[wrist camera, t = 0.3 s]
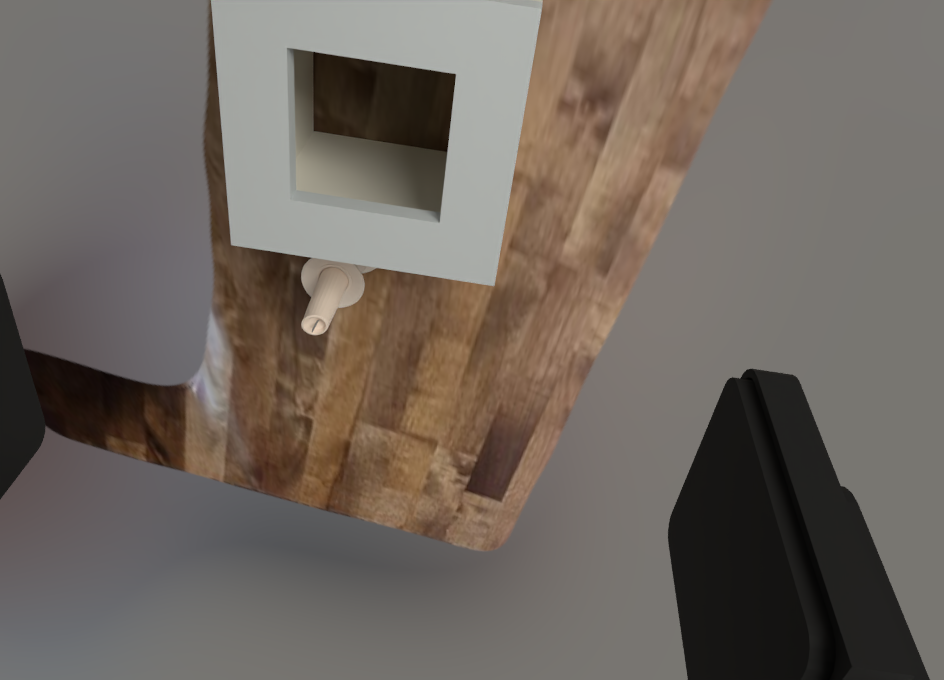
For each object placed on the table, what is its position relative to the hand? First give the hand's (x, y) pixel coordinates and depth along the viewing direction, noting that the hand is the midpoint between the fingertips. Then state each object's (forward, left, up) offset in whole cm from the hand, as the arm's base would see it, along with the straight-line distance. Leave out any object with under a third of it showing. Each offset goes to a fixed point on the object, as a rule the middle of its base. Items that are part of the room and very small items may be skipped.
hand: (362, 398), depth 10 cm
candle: (+20, -7, -36) cm, 42 cm away
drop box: (+8, -4, -36) cm, 37 cm away
